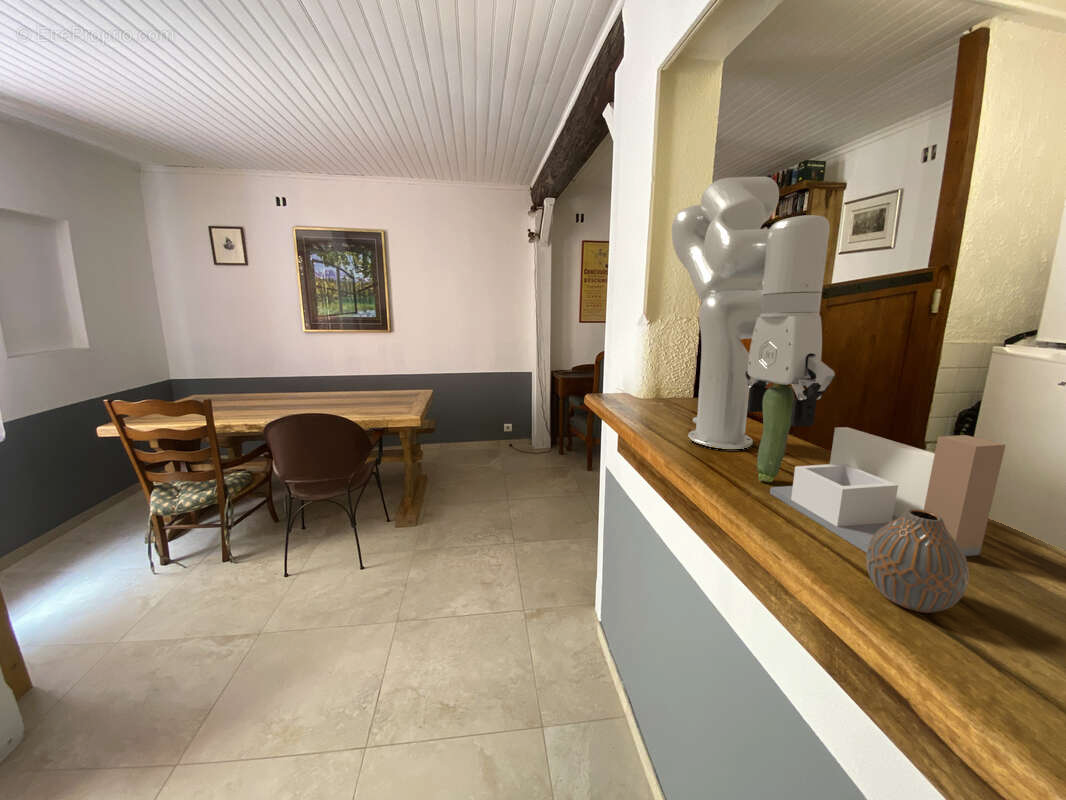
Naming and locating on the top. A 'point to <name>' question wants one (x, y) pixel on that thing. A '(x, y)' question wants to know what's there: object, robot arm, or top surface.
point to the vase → (918, 563)
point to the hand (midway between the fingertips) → (777, 418)
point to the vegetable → (774, 430)
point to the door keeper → (898, 486)
